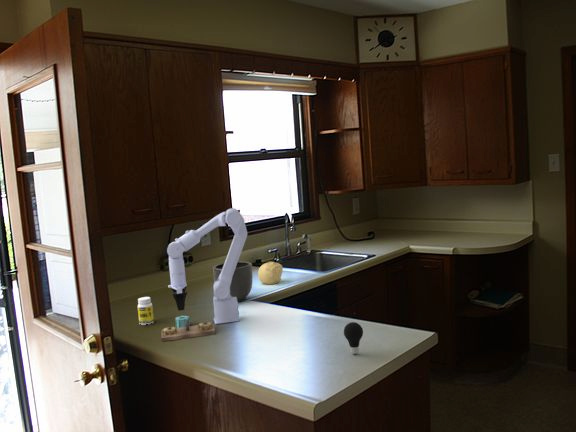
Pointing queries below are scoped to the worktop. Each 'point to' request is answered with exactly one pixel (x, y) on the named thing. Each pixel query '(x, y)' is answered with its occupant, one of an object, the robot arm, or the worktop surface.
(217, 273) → the planter
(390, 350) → the worktop surface
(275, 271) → the pale yellow round lump
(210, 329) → the gear board
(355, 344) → the light bulb
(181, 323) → the teal gear
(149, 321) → the supplement bottle
